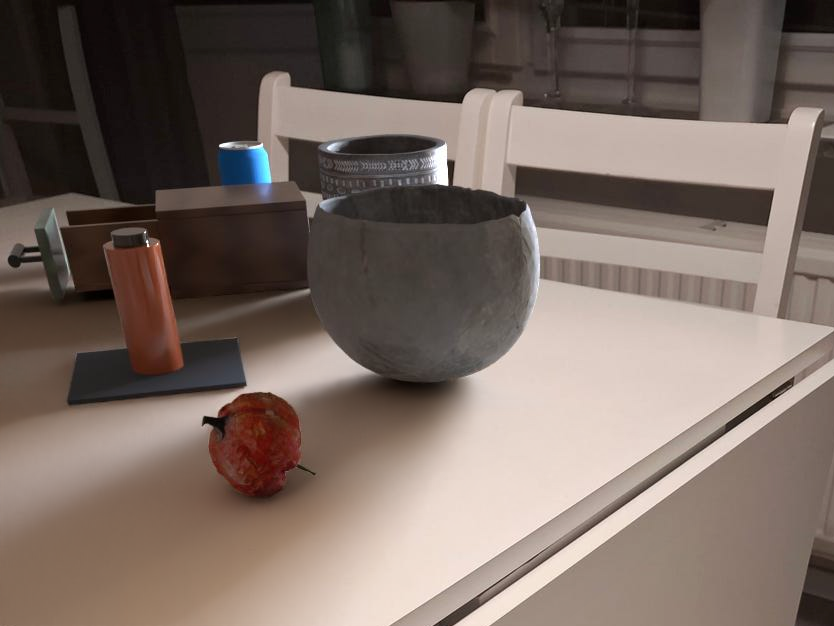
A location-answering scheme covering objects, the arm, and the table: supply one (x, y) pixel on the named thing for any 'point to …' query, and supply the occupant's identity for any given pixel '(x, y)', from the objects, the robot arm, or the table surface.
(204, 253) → the cabinet
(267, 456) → the pomegranate
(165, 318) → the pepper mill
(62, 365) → the table surface
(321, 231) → the bowl
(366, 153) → the planter
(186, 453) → the table surface
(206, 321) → the table surface
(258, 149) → the beverage can
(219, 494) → the table surface
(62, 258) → the drawer
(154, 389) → the mat
